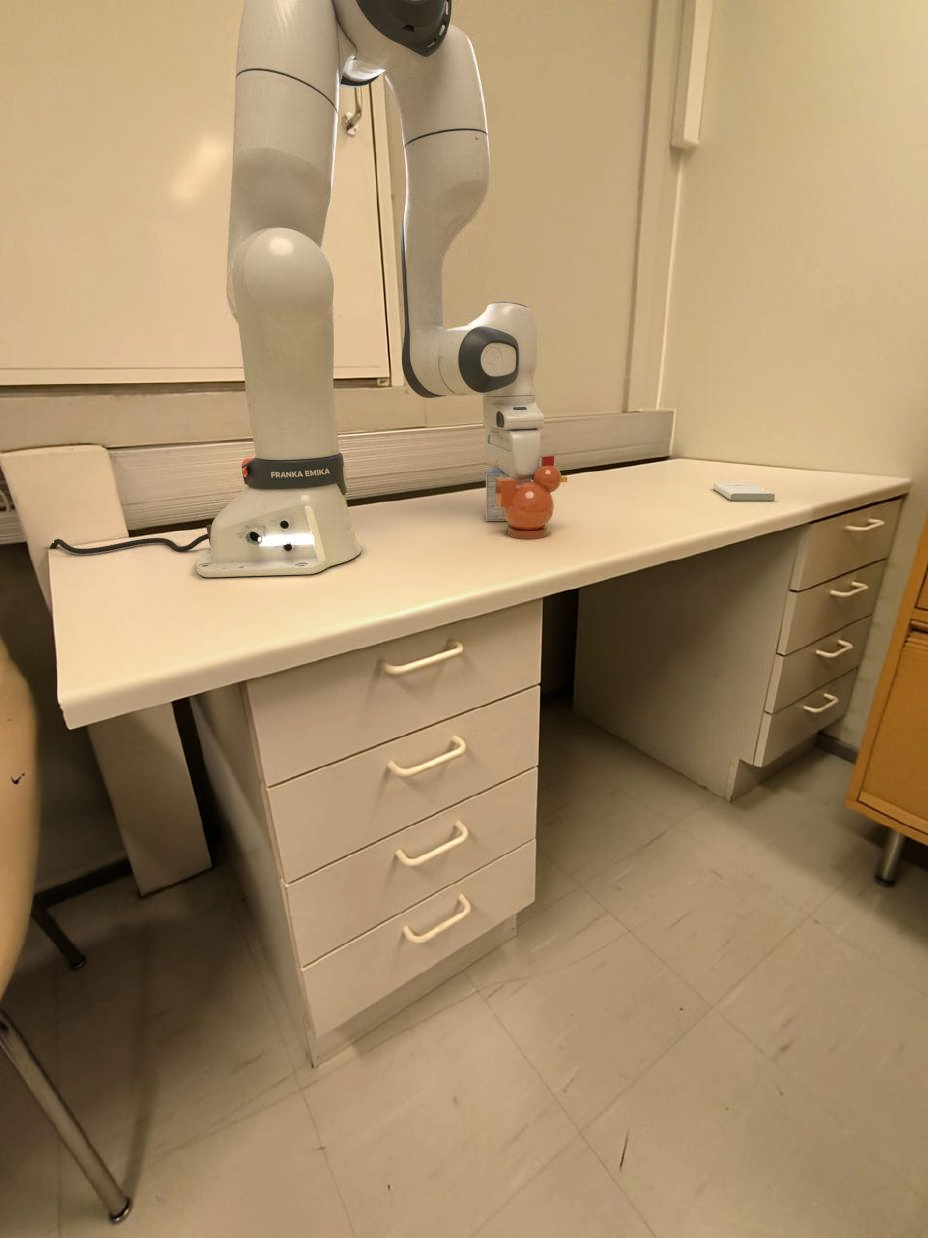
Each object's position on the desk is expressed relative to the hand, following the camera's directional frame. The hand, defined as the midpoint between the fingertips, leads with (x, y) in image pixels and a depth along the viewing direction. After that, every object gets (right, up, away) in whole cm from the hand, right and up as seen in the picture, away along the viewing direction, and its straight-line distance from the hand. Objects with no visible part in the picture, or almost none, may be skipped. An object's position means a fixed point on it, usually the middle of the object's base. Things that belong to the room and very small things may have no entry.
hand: (508, 497), depth 99 cm
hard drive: (+49, +4, +17) cm, 52 cm away
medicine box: (0, -4, +2) cm, 4 cm away
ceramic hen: (+2, -8, -8) cm, 12 cm away
